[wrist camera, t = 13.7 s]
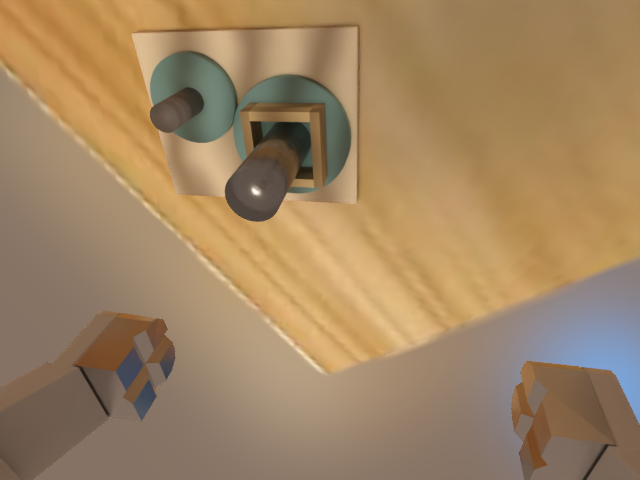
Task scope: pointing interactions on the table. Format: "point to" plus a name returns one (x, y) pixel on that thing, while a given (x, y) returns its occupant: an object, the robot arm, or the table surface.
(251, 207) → the axle
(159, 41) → the gear board
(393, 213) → the table surface
